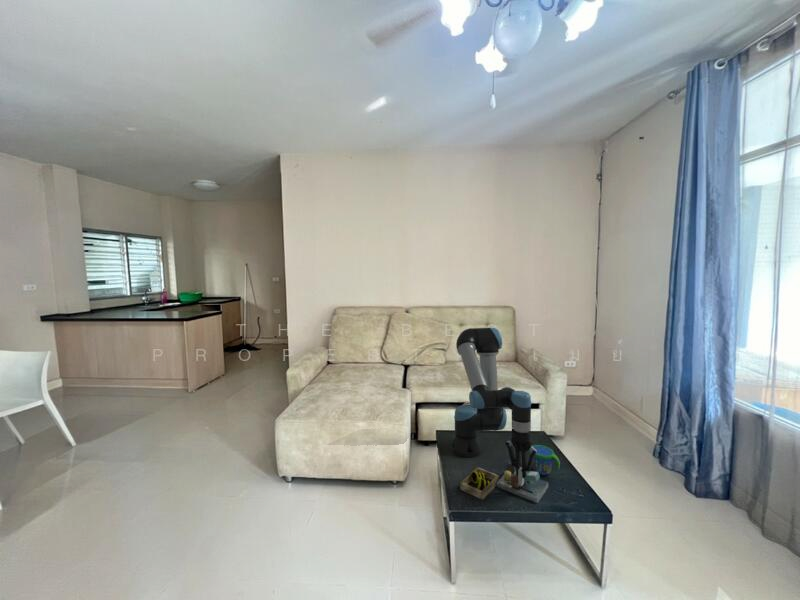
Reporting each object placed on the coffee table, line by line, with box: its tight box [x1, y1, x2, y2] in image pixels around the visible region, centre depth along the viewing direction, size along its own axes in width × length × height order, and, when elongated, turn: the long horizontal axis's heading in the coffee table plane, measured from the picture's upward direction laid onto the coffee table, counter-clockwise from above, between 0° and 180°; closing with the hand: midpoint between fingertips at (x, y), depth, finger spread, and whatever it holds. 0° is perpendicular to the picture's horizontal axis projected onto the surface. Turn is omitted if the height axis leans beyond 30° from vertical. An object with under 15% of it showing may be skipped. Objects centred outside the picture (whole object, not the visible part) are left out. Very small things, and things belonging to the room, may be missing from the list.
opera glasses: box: [470, 470, 490, 491], centre depth 142 cm, size 10×5×5 cm, turn 9°
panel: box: [496, 469, 549, 504], centre depth 141 cm, size 17×14×7 cm
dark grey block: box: [507, 460, 516, 474], centre depth 148 cm, size 3×3×4 cm
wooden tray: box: [459, 467, 500, 501], centre depth 142 cm, size 11×16×3 cm
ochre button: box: [503, 470, 511, 480], centre depth 144 cm, size 3×3×2 cm
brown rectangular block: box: [511, 474, 520, 488], centre depth 138 cm, size 3×3×4 cm
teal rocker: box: [514, 470, 541, 482], centre depth 141 cm, size 10×4×2 cm, turn 49°
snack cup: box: [528, 444, 561, 476], centre depth 152 cm, size 16×10×10 cm
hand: (521, 484), depth 137 cm, fingers closed
